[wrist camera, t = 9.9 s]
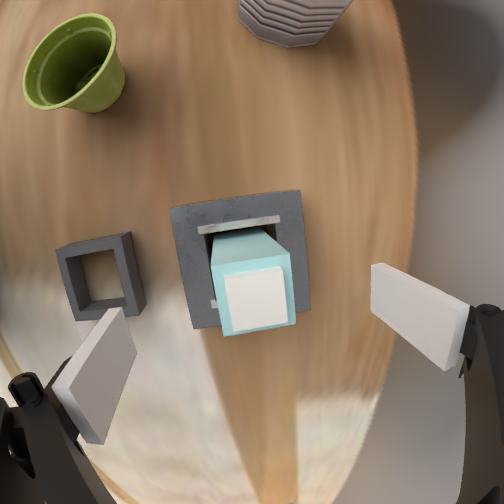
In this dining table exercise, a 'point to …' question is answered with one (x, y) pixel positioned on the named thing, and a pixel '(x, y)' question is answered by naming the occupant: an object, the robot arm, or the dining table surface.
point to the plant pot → (75, 67)
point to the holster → (77, 285)
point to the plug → (252, 282)
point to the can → (290, 19)
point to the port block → (233, 217)
